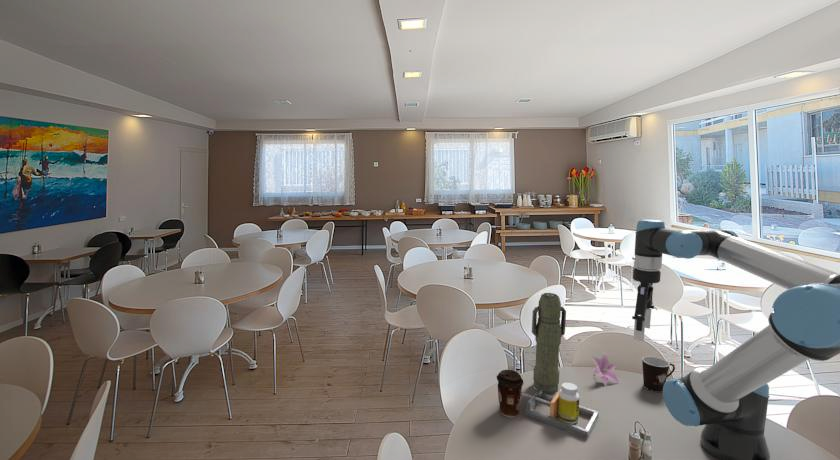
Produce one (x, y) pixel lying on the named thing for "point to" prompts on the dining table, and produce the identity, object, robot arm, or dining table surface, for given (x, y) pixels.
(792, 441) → the dining table surface
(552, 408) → the pusher
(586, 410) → the lane
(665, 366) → the coffee mug
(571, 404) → the pill bottle
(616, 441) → the dining table surface
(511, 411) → the coffee cup
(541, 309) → the thermos
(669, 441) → the dining table surface
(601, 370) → the lily
